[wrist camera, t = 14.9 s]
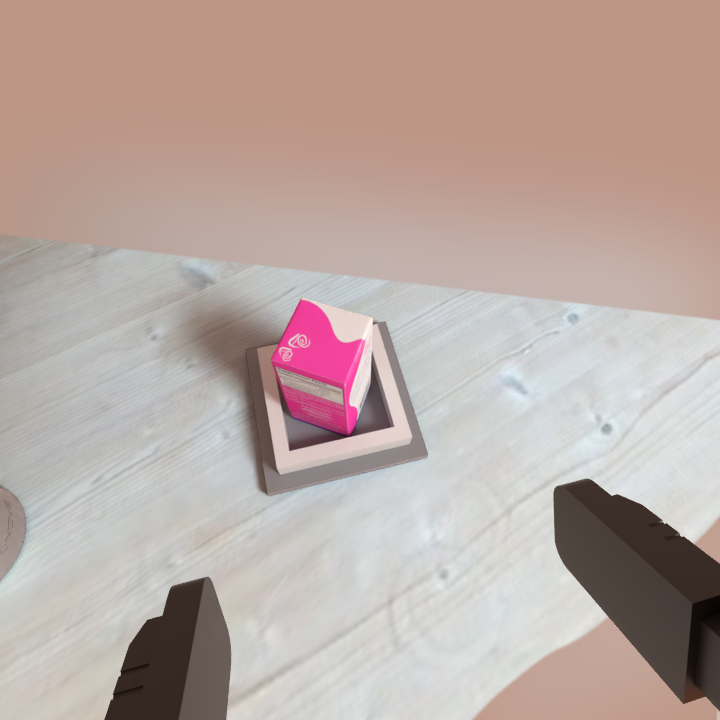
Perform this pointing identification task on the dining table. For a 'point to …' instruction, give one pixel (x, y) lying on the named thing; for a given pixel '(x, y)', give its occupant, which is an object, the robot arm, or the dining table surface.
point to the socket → (325, 448)
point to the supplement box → (325, 365)
